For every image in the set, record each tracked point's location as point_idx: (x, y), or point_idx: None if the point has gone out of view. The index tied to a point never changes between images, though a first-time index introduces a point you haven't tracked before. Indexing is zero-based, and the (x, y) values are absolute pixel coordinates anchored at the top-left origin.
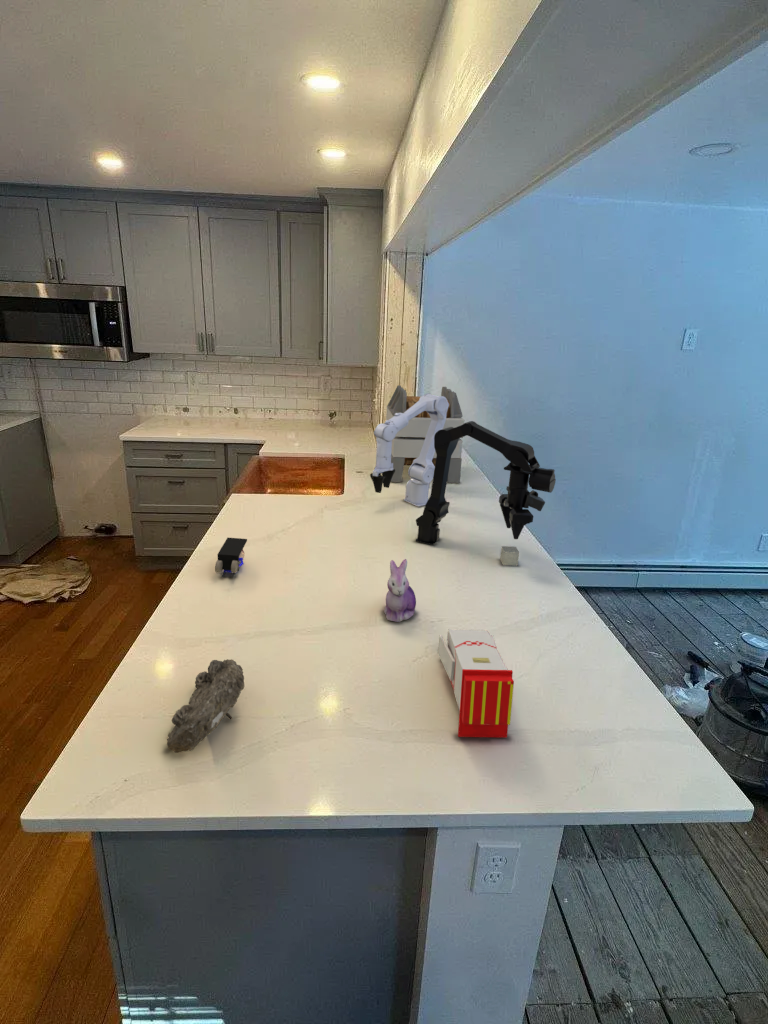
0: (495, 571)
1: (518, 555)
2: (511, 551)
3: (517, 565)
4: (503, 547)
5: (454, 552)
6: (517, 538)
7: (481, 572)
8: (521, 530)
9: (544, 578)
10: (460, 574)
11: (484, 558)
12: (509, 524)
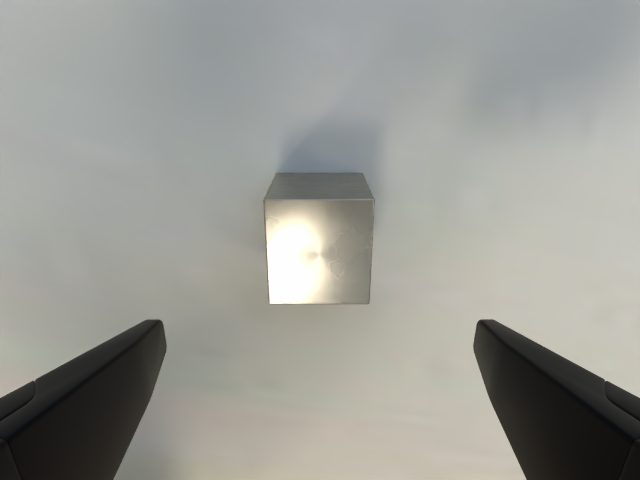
0: (435, 312)
1: (371, 194)
2: (364, 256)
3: (362, 174)
4: (292, 297)
5: (213, 452)
6: (498, 327)
7: (443, 377)
8: (608, 385)
9: (559, 35)
10: (458, 458)
11: (269, 335)
12: (145, 360)
